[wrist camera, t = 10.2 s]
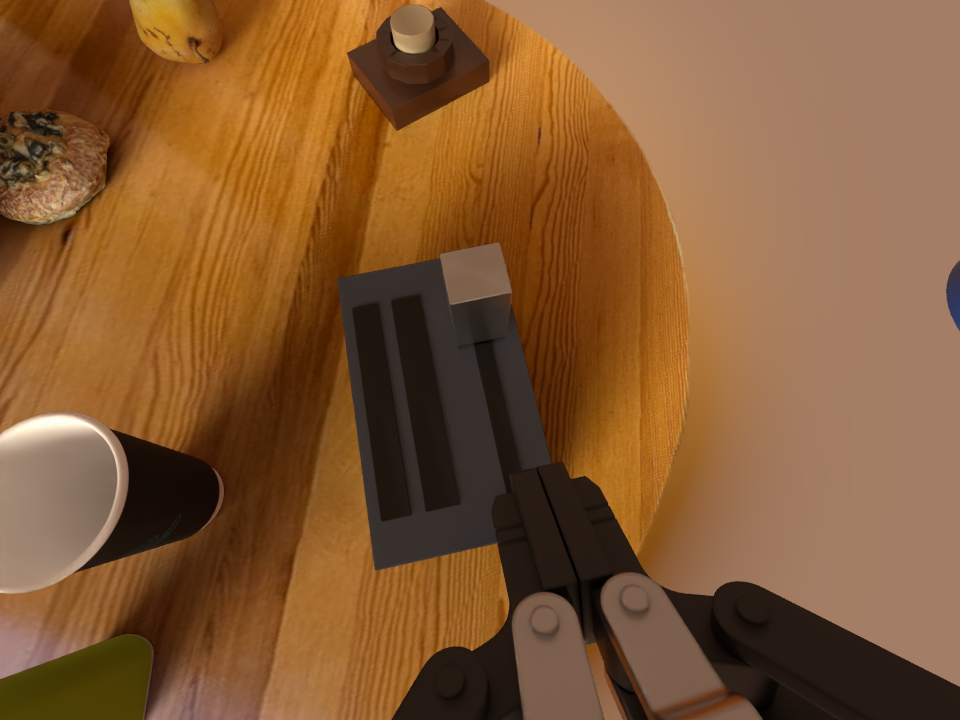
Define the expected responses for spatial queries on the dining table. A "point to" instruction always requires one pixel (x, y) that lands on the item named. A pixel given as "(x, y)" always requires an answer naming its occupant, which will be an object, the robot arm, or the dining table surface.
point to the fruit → (179, 28)
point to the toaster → (433, 415)
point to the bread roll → (49, 164)
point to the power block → (419, 71)
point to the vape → (83, 684)
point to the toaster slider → (477, 292)
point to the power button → (413, 29)
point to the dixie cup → (91, 498)
